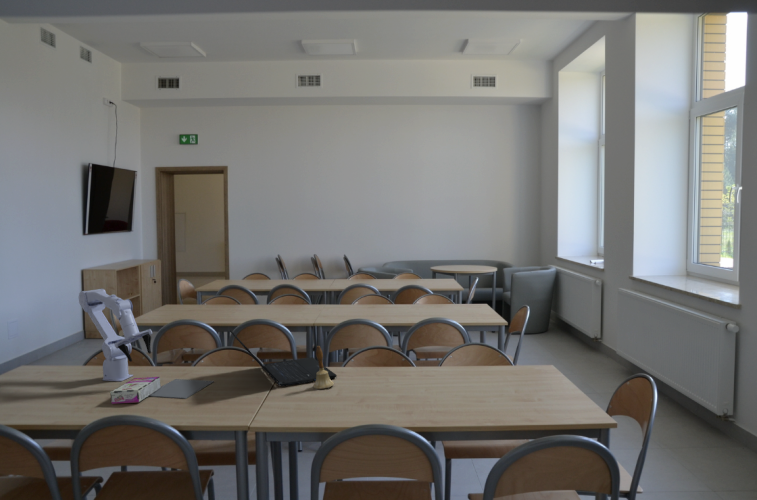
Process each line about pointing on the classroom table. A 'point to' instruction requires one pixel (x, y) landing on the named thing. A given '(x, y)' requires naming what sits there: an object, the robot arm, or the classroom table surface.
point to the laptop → (292, 370)
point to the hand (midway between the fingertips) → (140, 357)
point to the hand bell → (322, 373)
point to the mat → (180, 388)
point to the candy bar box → (135, 390)
